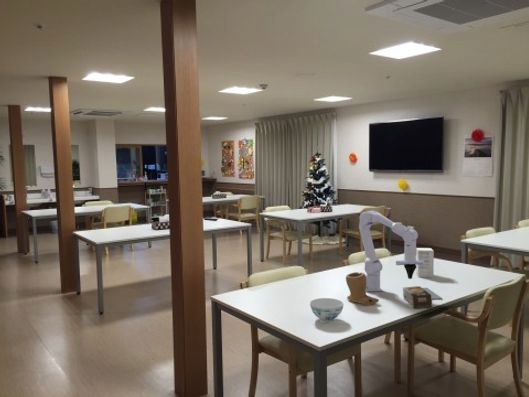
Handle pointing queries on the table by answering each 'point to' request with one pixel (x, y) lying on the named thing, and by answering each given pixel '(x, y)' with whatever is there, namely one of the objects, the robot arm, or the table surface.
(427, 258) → the supplement box
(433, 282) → the table surface
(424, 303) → the coffee box
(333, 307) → the chinaware
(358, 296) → the brown boot shaped vase
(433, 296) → the mat
